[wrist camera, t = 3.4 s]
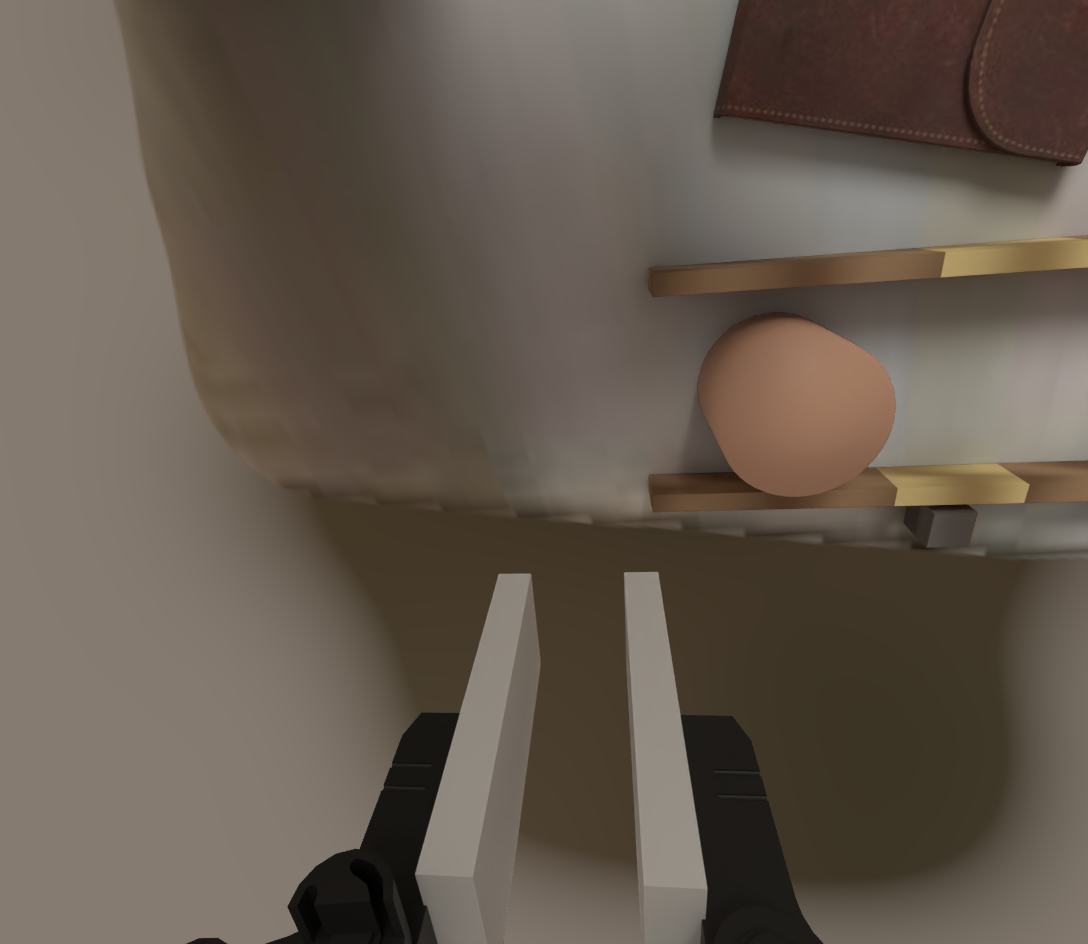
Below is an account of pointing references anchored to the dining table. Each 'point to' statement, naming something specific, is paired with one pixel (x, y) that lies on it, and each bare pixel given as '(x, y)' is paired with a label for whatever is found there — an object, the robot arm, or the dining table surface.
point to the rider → (794, 404)
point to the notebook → (917, 72)
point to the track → (923, 489)
